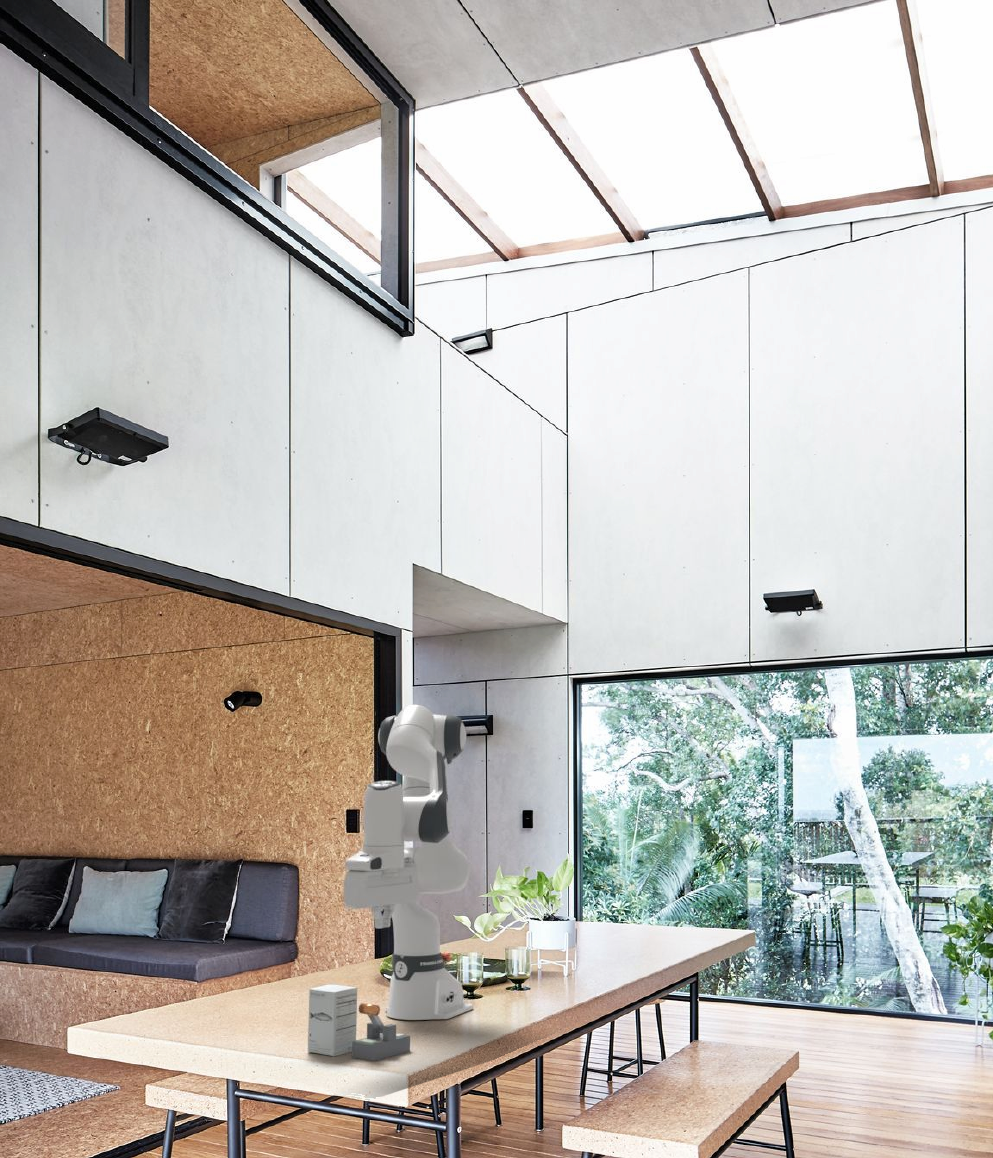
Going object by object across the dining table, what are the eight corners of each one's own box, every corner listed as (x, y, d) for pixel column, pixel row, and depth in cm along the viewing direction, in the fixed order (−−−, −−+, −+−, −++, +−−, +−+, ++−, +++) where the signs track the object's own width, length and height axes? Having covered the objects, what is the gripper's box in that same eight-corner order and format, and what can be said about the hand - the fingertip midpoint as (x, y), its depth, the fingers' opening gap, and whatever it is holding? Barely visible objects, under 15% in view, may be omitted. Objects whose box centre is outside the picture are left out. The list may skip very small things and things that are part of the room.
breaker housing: (388, 1046, 239) (388, 1017, 240) (410, 1050, 236) (410, 1021, 237) (351, 1057, 231) (352, 1026, 232) (374, 1061, 227) (374, 1030, 228)
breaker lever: (378, 1027, 236) (362, 1000, 233) (392, 1029, 234) (377, 1002, 231) (372, 1034, 235) (357, 1008, 232) (387, 1037, 232) (371, 1010, 230)
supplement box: (306, 1052, 235) (307, 988, 237) (330, 1045, 241) (331, 983, 243) (333, 1057, 231) (334, 991, 233) (357, 1050, 237) (358, 986, 239)
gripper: (404, 856, 250) (403, 921, 248) (338, 861, 234) (337, 931, 232) (426, 856, 247) (426, 923, 244) (361, 862, 230) (360, 933, 228)
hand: (382, 927), depth 238 cm, fingers closed
